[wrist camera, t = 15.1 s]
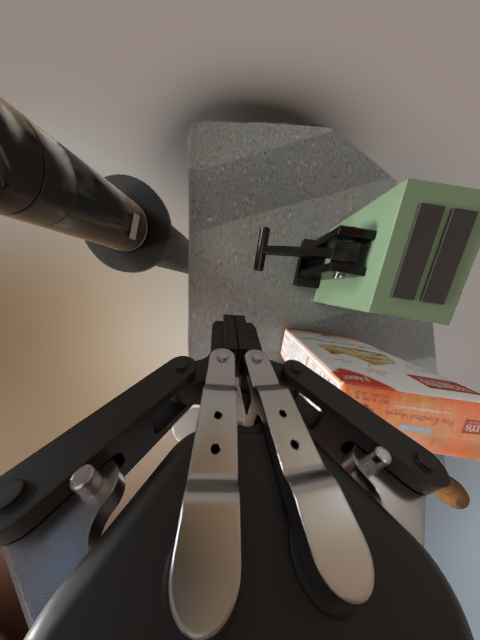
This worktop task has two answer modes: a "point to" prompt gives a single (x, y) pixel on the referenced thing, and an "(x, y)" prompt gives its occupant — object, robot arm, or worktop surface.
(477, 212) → the toaster
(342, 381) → the cracker box
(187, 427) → the dixie cup
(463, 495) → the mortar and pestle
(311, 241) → the lever bracket
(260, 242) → the toaster lever
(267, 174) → the worktop surface
